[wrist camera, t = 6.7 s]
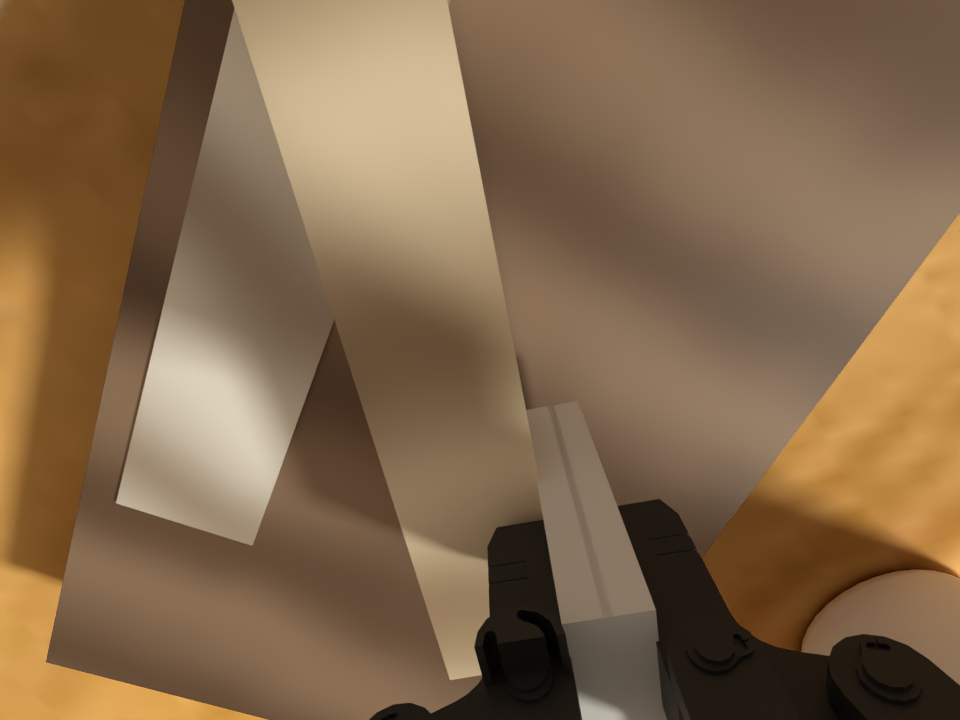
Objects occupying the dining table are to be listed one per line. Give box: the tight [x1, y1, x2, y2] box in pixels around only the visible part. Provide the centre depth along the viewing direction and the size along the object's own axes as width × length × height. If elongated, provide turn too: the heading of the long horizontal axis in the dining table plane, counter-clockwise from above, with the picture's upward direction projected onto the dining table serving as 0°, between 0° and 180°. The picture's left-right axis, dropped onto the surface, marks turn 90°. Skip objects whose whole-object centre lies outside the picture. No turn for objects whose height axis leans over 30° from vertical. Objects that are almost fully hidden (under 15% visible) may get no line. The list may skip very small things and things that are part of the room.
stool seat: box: [46, 0, 960, 720], centre depth 17 cm, size 28×18×3 cm, turn 156°
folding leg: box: [232, 0, 543, 680], centre depth 12 cm, size 17×3×4 cm, turn 11°
